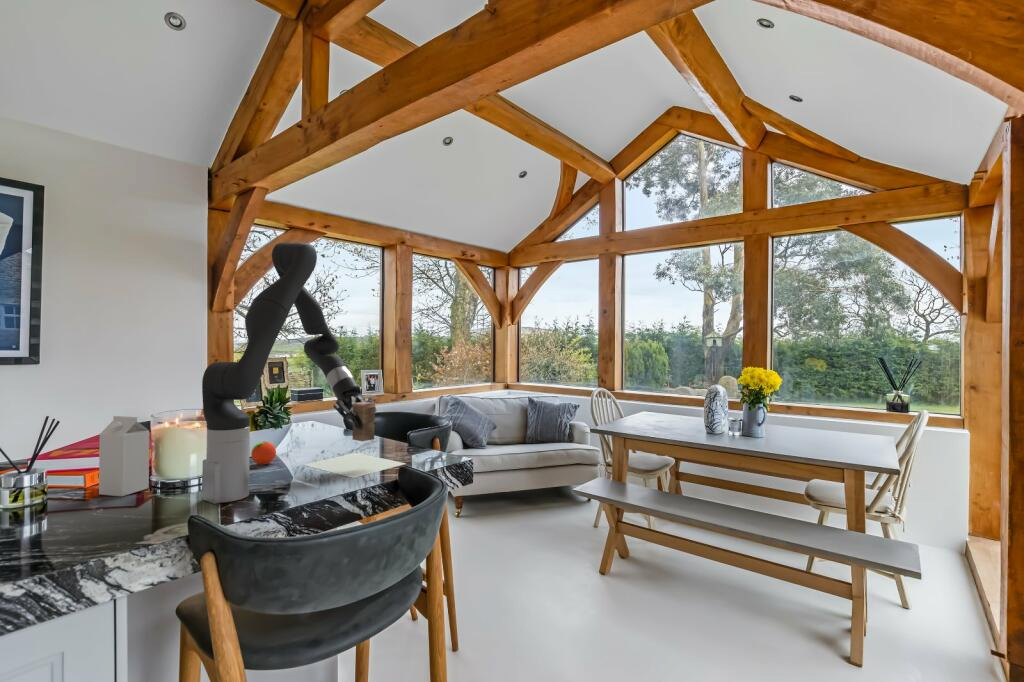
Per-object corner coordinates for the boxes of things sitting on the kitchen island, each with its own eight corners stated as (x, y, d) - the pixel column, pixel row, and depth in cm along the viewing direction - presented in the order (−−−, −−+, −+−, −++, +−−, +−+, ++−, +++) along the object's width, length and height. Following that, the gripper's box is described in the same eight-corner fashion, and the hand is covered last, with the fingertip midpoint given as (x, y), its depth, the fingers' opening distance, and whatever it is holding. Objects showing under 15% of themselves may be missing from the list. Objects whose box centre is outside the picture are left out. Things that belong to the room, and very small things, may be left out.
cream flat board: (353, 479, 138) (353, 477, 138) (302, 466, 152) (302, 464, 152) (406, 465, 155) (406, 463, 155) (356, 454, 168) (356, 452, 168)
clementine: (259, 468, 149) (260, 445, 149) (242, 466, 151) (243, 443, 151) (281, 462, 156) (281, 440, 156) (264, 460, 159) (264, 438, 159)
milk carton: (126, 486, 129) (127, 413, 129) (148, 488, 128) (149, 415, 128) (98, 495, 122) (99, 418, 122) (122, 497, 121) (123, 419, 121)
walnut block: (362, 441, 148) (363, 404, 148) (352, 439, 150) (353, 403, 150) (374, 439, 151) (375, 403, 152) (364, 437, 154) (365, 401, 154)
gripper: (329, 377, 149) (354, 421, 142) (367, 375, 161) (392, 416, 154) (318, 393, 152) (342, 437, 145) (356, 390, 164) (380, 431, 157)
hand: (367, 426), depth 150 cm, fingers closed on walnut block, 4 cm apart
